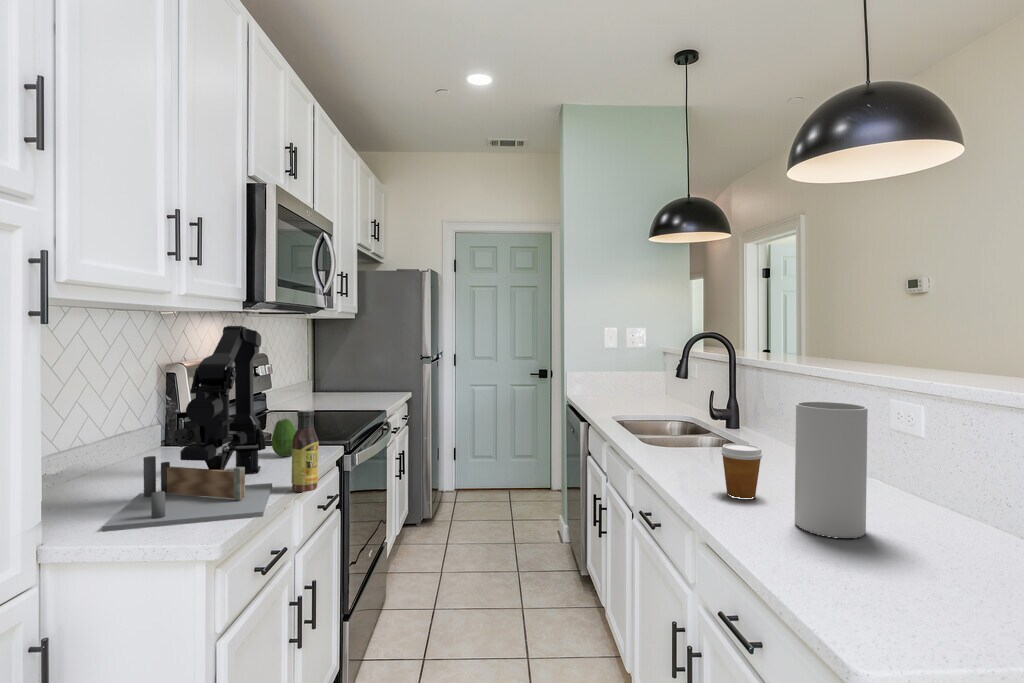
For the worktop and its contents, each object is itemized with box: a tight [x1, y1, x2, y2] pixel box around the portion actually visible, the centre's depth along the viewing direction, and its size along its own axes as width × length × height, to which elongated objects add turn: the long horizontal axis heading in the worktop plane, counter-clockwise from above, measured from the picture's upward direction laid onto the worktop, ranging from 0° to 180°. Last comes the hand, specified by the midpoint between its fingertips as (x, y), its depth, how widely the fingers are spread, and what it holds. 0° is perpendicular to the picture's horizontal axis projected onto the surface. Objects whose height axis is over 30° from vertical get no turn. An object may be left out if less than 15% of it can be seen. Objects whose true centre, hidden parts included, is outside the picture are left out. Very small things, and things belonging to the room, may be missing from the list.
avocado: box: [270, 418, 297, 457], centre depth 177 cm, size 8×8×12 cm
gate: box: [160, 461, 246, 499], centre depth 130 cm, size 22×2×7 cm, turn 77°
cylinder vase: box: [794, 401, 869, 539], centre depth 113 cm, size 12×12×25 cm
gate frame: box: [102, 455, 273, 532], centre depth 127 cm, size 24×29×10 cm
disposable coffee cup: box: [720, 443, 764, 498], centre depth 136 cm, size 10×10×12 cm
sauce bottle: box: [291, 409, 320, 493], centre depth 140 cm, size 7×6×20 cm
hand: (215, 481), depth 132 cm, fingers closed
